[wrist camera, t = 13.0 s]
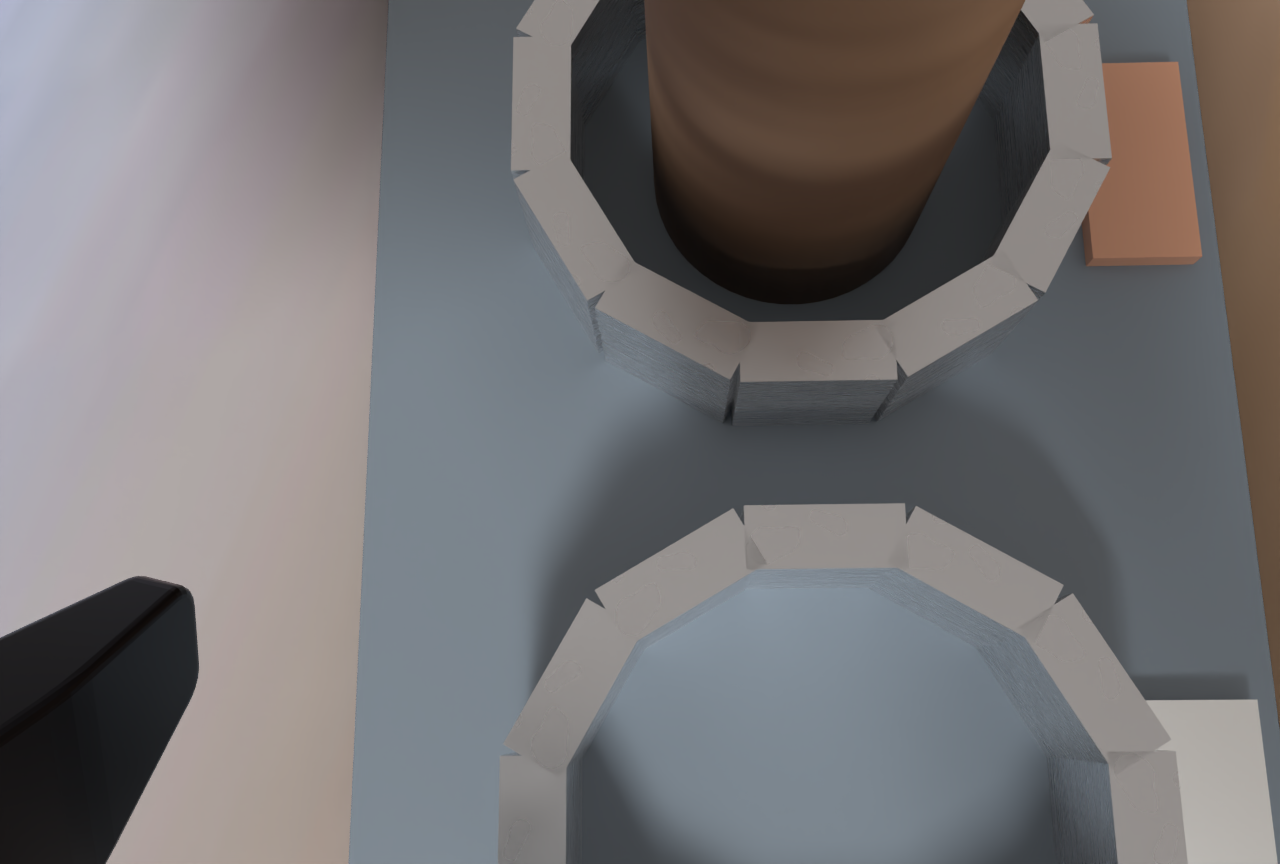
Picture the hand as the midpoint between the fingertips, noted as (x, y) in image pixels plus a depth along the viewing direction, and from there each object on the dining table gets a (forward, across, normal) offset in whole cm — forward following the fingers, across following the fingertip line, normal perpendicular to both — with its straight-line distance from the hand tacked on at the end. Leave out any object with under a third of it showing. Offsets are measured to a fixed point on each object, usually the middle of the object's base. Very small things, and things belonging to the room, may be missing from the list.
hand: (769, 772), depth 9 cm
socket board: (+13, 0, +6) cm, 14 cm away
